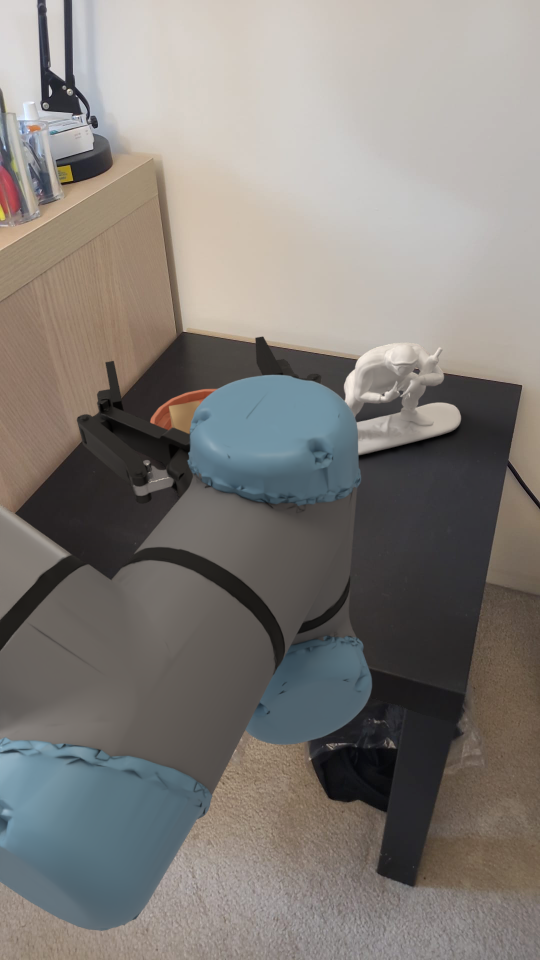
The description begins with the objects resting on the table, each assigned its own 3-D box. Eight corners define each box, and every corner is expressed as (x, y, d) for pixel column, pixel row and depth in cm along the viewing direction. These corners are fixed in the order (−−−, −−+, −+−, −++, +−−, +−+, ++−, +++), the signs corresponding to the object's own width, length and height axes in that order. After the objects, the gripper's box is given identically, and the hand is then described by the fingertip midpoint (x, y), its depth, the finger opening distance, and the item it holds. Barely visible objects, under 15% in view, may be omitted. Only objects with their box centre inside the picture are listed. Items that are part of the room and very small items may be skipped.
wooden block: (189, 520, 84) (176, 435, 75) (181, 489, 88) (168, 406, 80) (218, 514, 85) (208, 429, 76) (208, 483, 89) (199, 400, 80)
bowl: (145, 477, 90) (142, 460, 88) (159, 407, 102) (157, 390, 100) (268, 474, 90) (267, 456, 88) (267, 404, 102) (267, 387, 100)
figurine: (308, 492, 87) (309, 380, 76) (274, 435, 96) (271, 327, 85) (483, 447, 93) (508, 336, 82) (436, 397, 102) (452, 292, 91)
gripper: (68, 594, 47) (57, 420, 62) (406, 519, 51) (317, 374, 67) (41, 515, 42) (36, 347, 57) (417, 440, 46) (318, 303, 62)
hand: (187, 361), depth 62 cm, fingers open, 13 cm apart
